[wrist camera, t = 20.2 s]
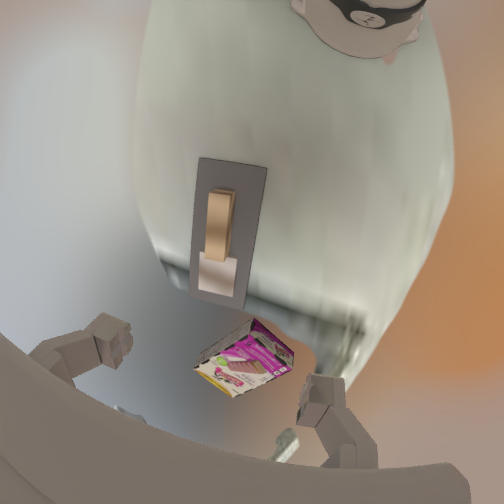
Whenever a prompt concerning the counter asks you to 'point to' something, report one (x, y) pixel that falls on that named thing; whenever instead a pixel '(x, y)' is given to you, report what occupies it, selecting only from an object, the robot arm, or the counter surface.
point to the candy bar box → (245, 359)
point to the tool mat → (243, 225)
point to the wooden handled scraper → (218, 246)
